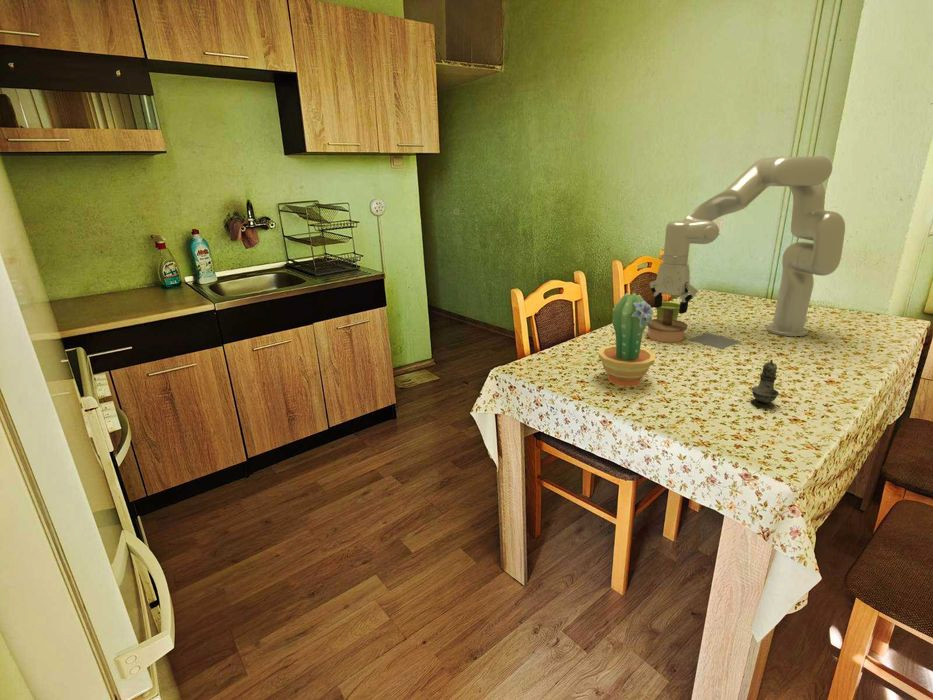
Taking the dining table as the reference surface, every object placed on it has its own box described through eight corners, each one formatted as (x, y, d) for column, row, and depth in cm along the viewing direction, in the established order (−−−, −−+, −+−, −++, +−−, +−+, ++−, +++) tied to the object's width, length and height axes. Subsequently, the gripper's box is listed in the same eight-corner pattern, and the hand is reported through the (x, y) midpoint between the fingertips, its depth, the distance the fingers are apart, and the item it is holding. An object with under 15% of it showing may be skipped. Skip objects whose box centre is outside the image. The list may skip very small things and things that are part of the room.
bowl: (661, 333, 176) (662, 319, 174) (688, 340, 167) (690, 327, 165) (641, 338, 170) (643, 325, 169) (668, 347, 162) (670, 332, 160)
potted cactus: (599, 390, 131) (606, 300, 122) (593, 368, 145) (599, 287, 137) (658, 392, 129) (670, 301, 120) (646, 370, 143) (656, 287, 135)
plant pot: (674, 323, 186) (677, 301, 183) (682, 331, 178) (685, 308, 175) (649, 323, 187) (652, 301, 184) (656, 330, 178) (659, 308, 175)
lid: (662, 318, 175) (664, 303, 173) (695, 327, 165) (697, 310, 163) (638, 325, 169) (640, 309, 167) (671, 334, 158) (673, 317, 157)
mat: (707, 335, 172) (708, 332, 172) (741, 344, 162) (741, 341, 162) (687, 342, 166) (687, 339, 166) (720, 351, 156) (721, 348, 156)
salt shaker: (744, 399, 124) (752, 355, 120) (765, 398, 124) (775, 354, 120) (758, 410, 118) (768, 364, 114) (781, 408, 119) (791, 363, 115)
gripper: (645, 258, 164) (641, 307, 170) (692, 264, 150) (686, 317, 156) (659, 255, 168) (655, 303, 174) (706, 261, 154) (700, 313, 160)
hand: (670, 310), depth 165 cm, fingers open, 9 cm apart
